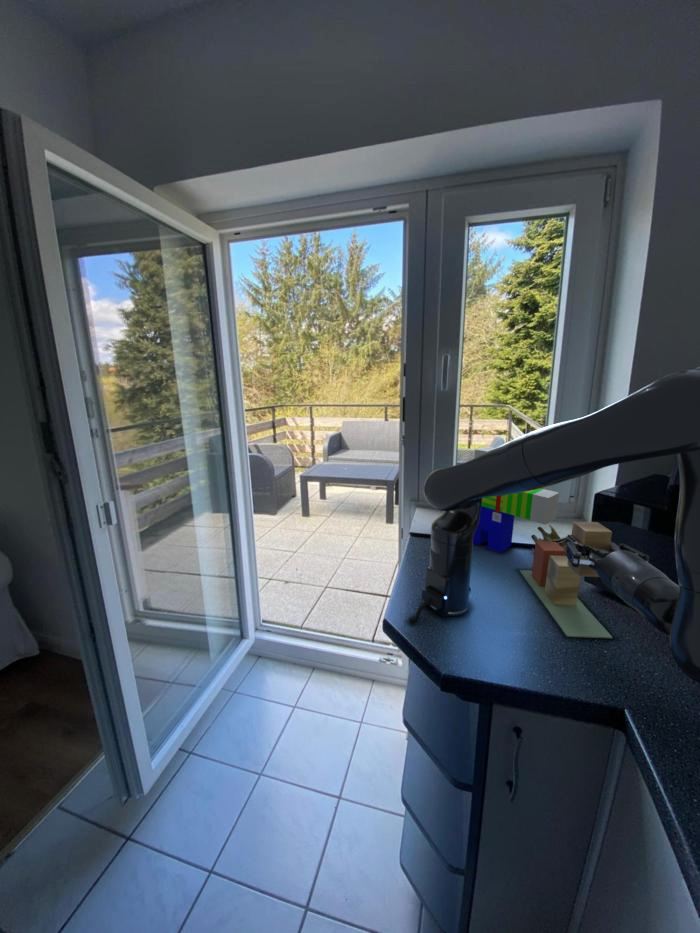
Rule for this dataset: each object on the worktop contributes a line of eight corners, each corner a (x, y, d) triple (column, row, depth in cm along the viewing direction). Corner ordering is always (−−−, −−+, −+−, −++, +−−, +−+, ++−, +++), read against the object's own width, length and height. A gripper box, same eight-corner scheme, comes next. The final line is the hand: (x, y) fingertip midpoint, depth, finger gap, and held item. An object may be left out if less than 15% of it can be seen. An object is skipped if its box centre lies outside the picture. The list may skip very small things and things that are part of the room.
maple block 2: (604, 577, 76) (612, 531, 74) (579, 576, 76) (586, 531, 74) (590, 565, 81) (597, 522, 78) (566, 564, 81) (573, 521, 79)
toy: (438, 529, 128) (443, 444, 121) (450, 524, 132) (455, 441, 125) (539, 568, 103) (553, 462, 95) (550, 560, 107) (564, 458, 100)
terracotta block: (560, 587, 93) (565, 550, 91) (539, 586, 93) (544, 550, 91) (550, 576, 98) (555, 541, 96) (531, 576, 98) (535, 541, 96)
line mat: (612, 638, 76) (612, 637, 76) (566, 636, 76) (566, 635, 76) (553, 572, 101) (553, 571, 101) (519, 571, 101) (519, 570, 101)
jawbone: (596, 553, 100) (576, 519, 102) (541, 568, 110) (524, 537, 111) (600, 543, 107) (581, 511, 109) (548, 557, 117) (532, 528, 118)
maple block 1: (576, 605, 86) (582, 566, 83) (553, 605, 86) (559, 566, 84) (565, 593, 91) (571, 556, 88) (544, 592, 91) (549, 555, 89)
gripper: (685, 562, 62) (620, 523, 78) (595, 560, 63) (549, 522, 79) (676, 602, 64) (614, 555, 80) (589, 600, 65) (545, 554, 81)
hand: (582, 539), depth 80 cm, fingers closed on maple block 2, 5 cm apart
